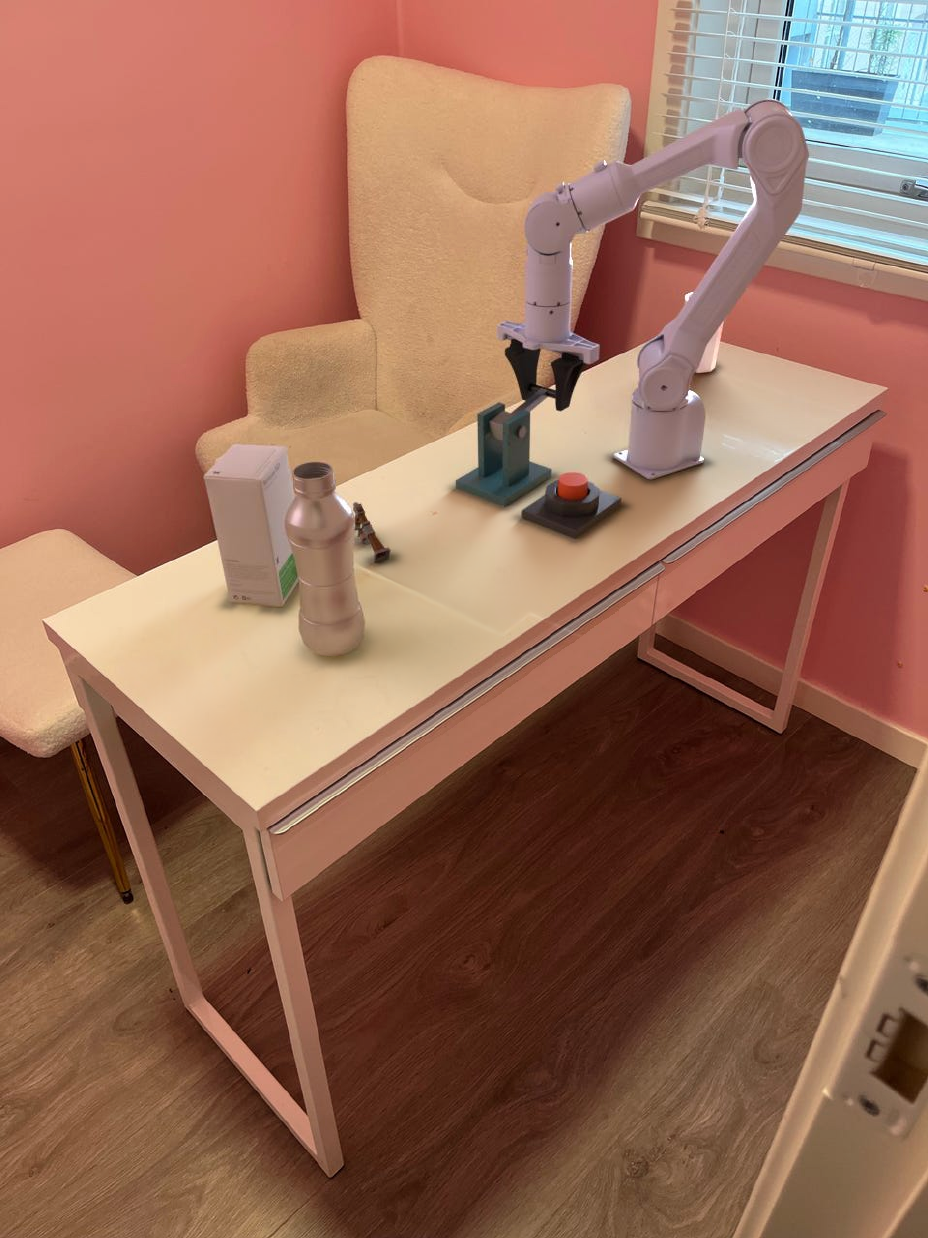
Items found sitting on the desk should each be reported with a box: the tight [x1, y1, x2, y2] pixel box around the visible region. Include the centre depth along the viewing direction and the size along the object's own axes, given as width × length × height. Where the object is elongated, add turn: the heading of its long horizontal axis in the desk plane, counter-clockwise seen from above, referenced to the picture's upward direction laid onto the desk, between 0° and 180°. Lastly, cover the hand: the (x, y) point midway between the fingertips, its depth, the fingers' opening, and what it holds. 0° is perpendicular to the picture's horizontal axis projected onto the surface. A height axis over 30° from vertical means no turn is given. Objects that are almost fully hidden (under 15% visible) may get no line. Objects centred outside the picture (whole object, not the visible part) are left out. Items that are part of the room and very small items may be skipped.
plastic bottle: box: [284, 461, 366, 657], centre depth 94 cm, size 6×7×20 cm
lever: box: [489, 383, 556, 441], centre depth 124 cm, size 11×5×2 cm, turn 140°
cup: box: [684, 292, 726, 374], centre depth 153 cm, size 7×7×11 cm
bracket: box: [455, 401, 552, 507], centre depth 124 cm, size 10×8×10 cm
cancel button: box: [557, 471, 589, 500], centre depth 118 cm, size 4×4×2 cm
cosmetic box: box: [203, 443, 299, 608], centre depth 104 cm, size 8×7×16 cm
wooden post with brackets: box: [352, 501, 391, 563], centre depth 114 cm, size 2×8×4 cm, turn 29°
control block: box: [521, 479, 622, 540], centre depth 119 cm, size 10×8×3 cm
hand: (545, 402), depth 127 cm, fingers closed on lever, 5 cm apart
